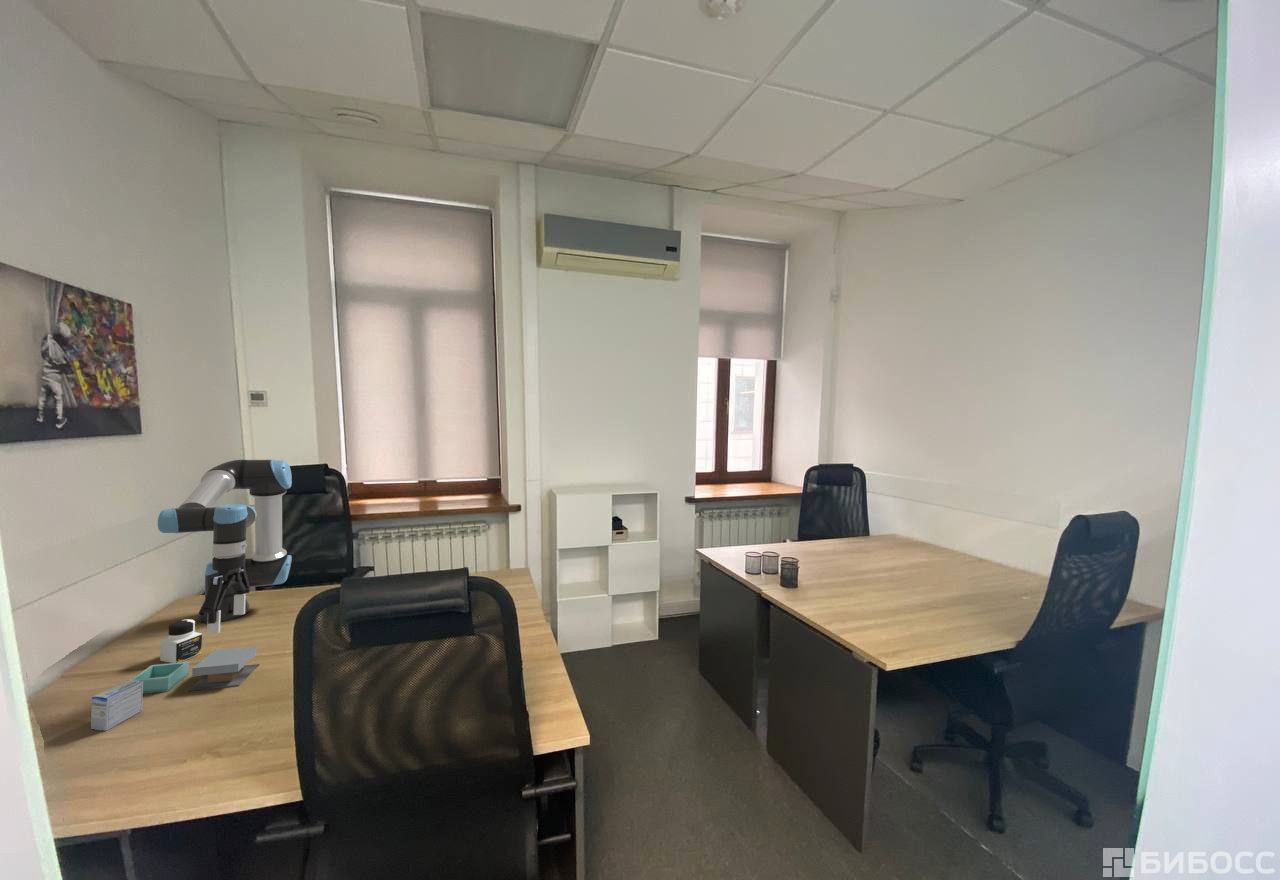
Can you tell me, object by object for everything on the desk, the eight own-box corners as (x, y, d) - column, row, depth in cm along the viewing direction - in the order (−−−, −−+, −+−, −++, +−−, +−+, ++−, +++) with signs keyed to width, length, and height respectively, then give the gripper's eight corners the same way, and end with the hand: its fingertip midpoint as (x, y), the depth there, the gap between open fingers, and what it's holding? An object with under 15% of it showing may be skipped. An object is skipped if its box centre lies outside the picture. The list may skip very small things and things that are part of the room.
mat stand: (213, 669, 140) (213, 656, 140) (259, 665, 144) (259, 652, 144) (188, 691, 129) (188, 677, 129) (238, 686, 133) (239, 672, 133)
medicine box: (127, 710, 120) (128, 679, 119) (142, 711, 120) (143, 680, 119) (90, 730, 112) (90, 696, 112) (106, 731, 112) (107, 697, 111)
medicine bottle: (176, 664, 142) (177, 627, 142) (159, 661, 144) (160, 624, 143) (202, 653, 149) (203, 618, 149) (185, 650, 151) (186, 616, 150)
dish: (151, 678, 134) (151, 665, 134) (188, 674, 137) (188, 661, 137) (127, 695, 126) (128, 681, 126) (168, 691, 129) (168, 677, 128)
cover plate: (214, 657, 140) (215, 649, 140) (257, 653, 143) (257, 646, 143) (192, 676, 129) (192, 668, 129) (238, 671, 133) (238, 663, 133)
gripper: (220, 566, 125) (217, 640, 125) (264, 544, 149) (262, 606, 149) (186, 568, 123) (184, 643, 123) (237, 545, 146) (234, 608, 147)
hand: (227, 623), depth 136 cm, fingers open, 13 cm apart
